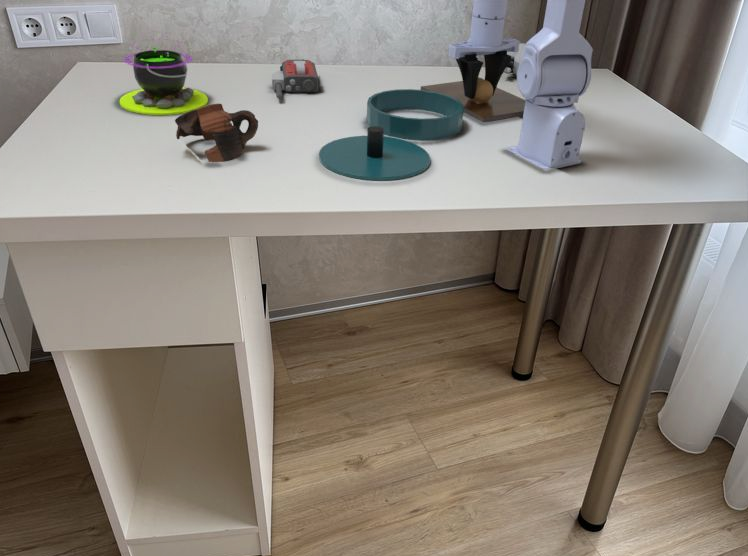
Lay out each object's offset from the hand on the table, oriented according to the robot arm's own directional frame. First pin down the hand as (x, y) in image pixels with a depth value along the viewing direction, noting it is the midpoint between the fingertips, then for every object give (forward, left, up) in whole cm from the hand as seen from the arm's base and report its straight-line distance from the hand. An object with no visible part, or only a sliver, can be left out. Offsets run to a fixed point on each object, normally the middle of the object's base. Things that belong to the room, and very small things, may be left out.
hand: (479, 95), depth 129 cm
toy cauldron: (+25, +51, -2) cm, 57 cm away
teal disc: (-15, +32, -2) cm, 35 cm away
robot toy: (+16, -24, -2) cm, 29 cm away
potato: (0, 0, -1) cm, 1 cm away
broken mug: (-2, +51, -2) cm, 51 cm away
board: (+2, -2, -2) cm, 4 cm away
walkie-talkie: (+23, +26, -2) cm, 35 cm away
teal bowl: (-4, +17, -2) cm, 18 cm away
